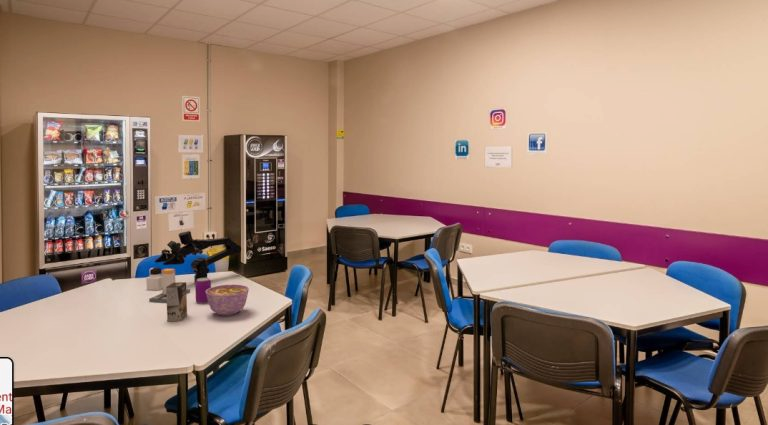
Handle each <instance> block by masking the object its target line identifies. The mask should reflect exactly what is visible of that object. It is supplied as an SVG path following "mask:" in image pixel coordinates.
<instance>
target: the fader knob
mask: <svg viewBox="0 0 768 425" xmlns="http://www.w3.org/2000/svg"><path fill="white" fill-rule="evenodd" d="M161 275H162V289H161V290H162V293H163V294H166V287H167V286H169V285H170V284H172V283H176V269H175V268H164V269H161Z"/></svg>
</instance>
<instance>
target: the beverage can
mask: <svg viewBox="0 0 768 425" xmlns="http://www.w3.org/2000/svg"><path fill="white" fill-rule="evenodd" d="M194 283H195V282H194ZM211 287H212V282H211V280H210V278H209V277H207V278H199V279H197V281H196V283H195V286H194V288H195V302H196V304H197V303H198V304H209V302H208V299H207V295H206V292H205V291H206V290H207V289H209V288H211Z"/></svg>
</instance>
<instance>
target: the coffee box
mask: <svg viewBox="0 0 768 425" xmlns="http://www.w3.org/2000/svg"><path fill="white" fill-rule="evenodd" d="M186 289H187V282H184V281H183V282H182V281H181V282H179V281H178V282H175V283H172V284H170V285H169V286H167V287H166V296H167V303H166V317H167V318H166V321H167V322H181V321H183V319H184V318H185V317H187V316H188V302H187V301H188V297H187V296H188V293H187V291H186Z"/></svg>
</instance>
